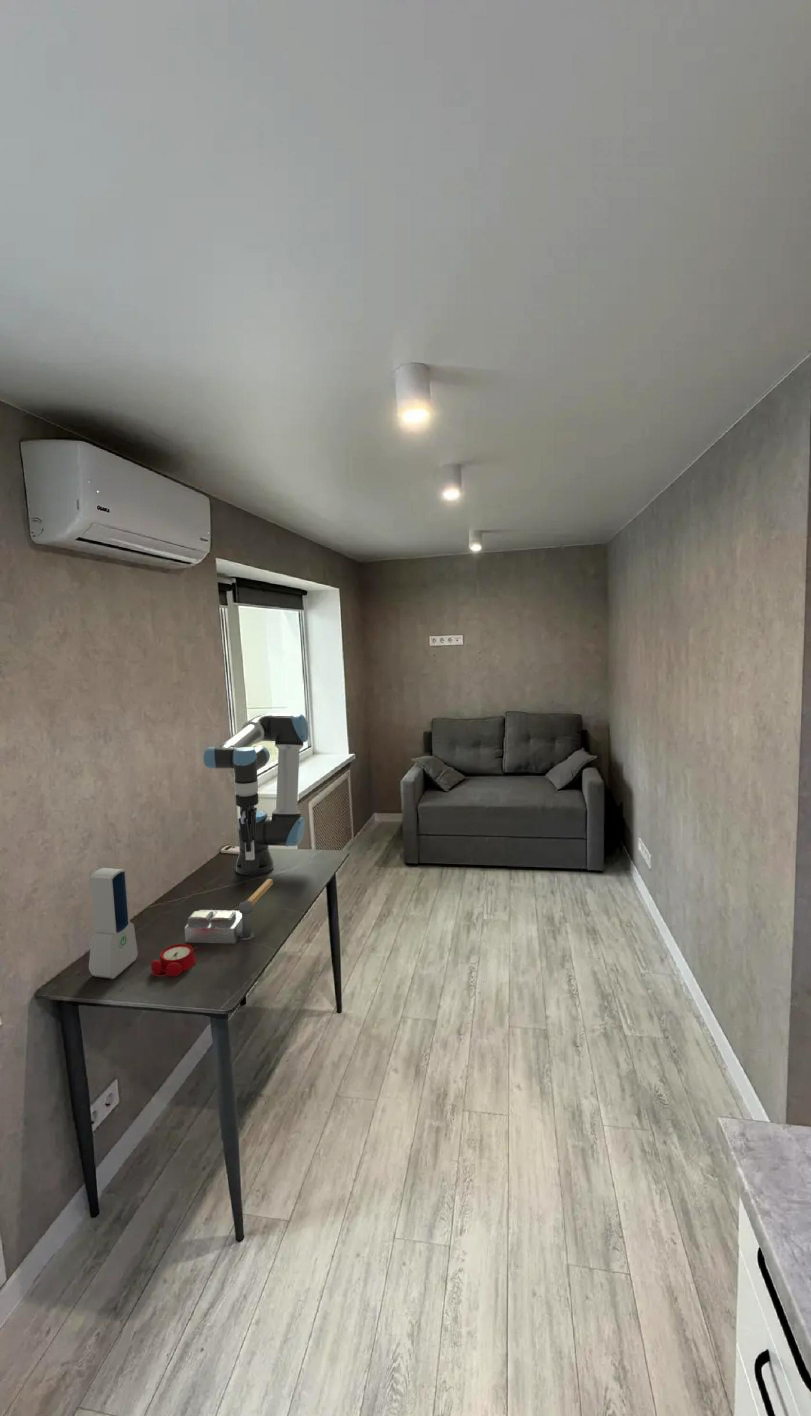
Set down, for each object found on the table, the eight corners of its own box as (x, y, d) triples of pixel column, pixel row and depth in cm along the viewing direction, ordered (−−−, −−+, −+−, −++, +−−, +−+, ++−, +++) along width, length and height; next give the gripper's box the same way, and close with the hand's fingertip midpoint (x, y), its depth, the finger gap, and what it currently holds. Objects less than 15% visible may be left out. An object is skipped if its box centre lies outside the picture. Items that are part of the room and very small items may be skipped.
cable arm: (250, 938, 193) (248, 907, 192) (238, 937, 194) (236, 906, 192) (276, 907, 215) (275, 878, 213) (266, 906, 215) (264, 877, 214)
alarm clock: (204, 944, 184) (174, 960, 170) (202, 965, 184) (172, 983, 169) (174, 940, 187) (142, 955, 172) (172, 961, 186) (140, 978, 172)
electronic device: (111, 981, 172) (103, 880, 167) (88, 978, 173) (79, 878, 169) (139, 957, 184) (132, 863, 180) (117, 955, 185) (109, 861, 181)
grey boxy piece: (200, 924, 204) (199, 903, 203) (261, 925, 203) (260, 904, 202) (185, 942, 192) (184, 920, 191) (250, 944, 191) (249, 922, 190)
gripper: (242, 787, 212) (245, 851, 215) (229, 798, 199) (233, 866, 203) (263, 787, 211) (266, 852, 215) (251, 799, 199) (255, 867, 202)
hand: (250, 859), depth 209 cm, fingers closed
